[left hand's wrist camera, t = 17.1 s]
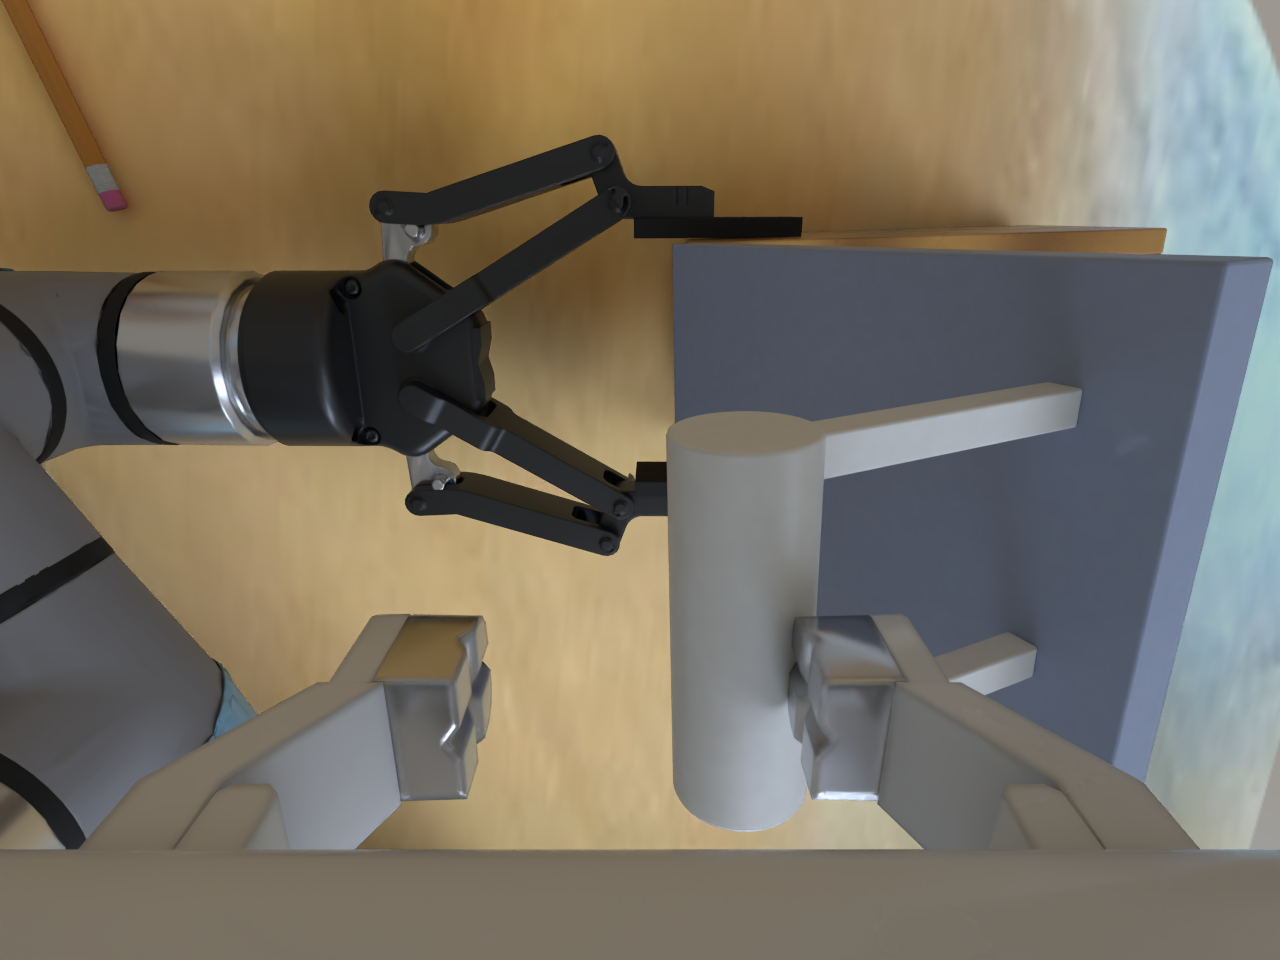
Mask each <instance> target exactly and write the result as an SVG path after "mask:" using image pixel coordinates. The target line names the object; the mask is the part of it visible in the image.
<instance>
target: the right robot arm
mask: <svg viewBox="0 0 1280 960" xmlns="http://www.w3.org/2000/svg"><path fill="white" fill-rule="evenodd" d="M591 177H592V179H593V181H594V184H595V187H596V190H597V193H598V195H597V196H596V197H594V198H593V199H591V200H590V201H588V202H587V203H585V204H584V205H582V206H580V207H579V208H577V209H576V210H574V211H573V212H571V213H570V214H568V215H567V216H565V217H564V218H562V219H560V220H559V221H557V222H556V223H554V224H553V225H551V226H550V227H548V228H547V229H545V230H544V231H542V232H540V233H539V234H537V235H536V236H534V237H533V238H531V239H530V240H528V241H527V242H525V243H523V244H522V245H520V246H519V247H517V248H516V249H514V250H513V251H511V252H510V253H508V254H507V255H505V256H503V257H502V258H500V259H499V260H497V261H496V262H494V263H493V264H491V265H490V266H488V267H487V268H485V269H483V270H482V271H480V272H479V273H477V274H475V275H474V276H472V277H470V278H468V279H467V280H465V281H464V282H462V283H461V284H459V285H457V286H456V287H454V288H453V287H451V286H450V285H448V284H447V283H446V282H444V281H443V280H441V279H440V278H439V277H437V276H436V275H434V274H433V273H431V272H430V271H429V270H427V269H426V268H424V267H423V266H421V265H420V264H419V263H417V262H415V261H414V255H415V252H416V250H417V249H418V248H419V247H420V246H422V245H426V244H430V243H432V242H433V241H434V240H435V239H436V237H437V235H438V224H447V223H455V222H459V221H462V220H466V219H469V218H472V217H475V216H478V215H481V214H484V213H487V212H490V211H493V210H496V209H499V208H502V207H505V206H507V205H510V204H513V203H516V202H519V201H522V200H525V199H528V198H531V197H534V196H537V195H540V194H543V193H546V192H549V191H552V190H555V189H558V188H561V187H564V186H567V185H570V184H573V183H576V182H579V181H582V180H585V179H588V178H591ZM369 207H370V211H371V214H372V215H373V217H374V218H375V219H376V220H378V221H379V222H381V230H382V245H383V260H384V261H382V262H380V263H378V264H377V265H375V266H374V267H372V268H370V269H368V270H359V271H273V272H270V273H268V274H266V275H262V274H260V273H258V272H255V271H158V272H142V273H109V272H64V271H14V270H12V269H7V268H0V849H79V848H80V846H81V845H82V844H83V843H84V842H85V841H86V840H87V838H88V837H89V836H90V835H91V834H92V833H93V831H94V830H95V829H96V828H97V827H98V826H99V825H100V823H101V822H102V821H103V820H104V819H105V818H106V816H107V815H108V814H109V813H110V812H111V811H112V809H113V808H114V807H115V806H116V805H117V804H118V803H119V801H120V800H121V799H122V798H123V797H124V796H125V794H126V793H127V792H128V791H129V790H130V789H131V788H132V786H133V785H134V784H135V783H136V782H137V781H138V780H140V779H141V778H143V777H145V776H147V775H149V774H151V773H152V772H154V771H156V770H158V769H160V768H162V767H163V766H165V765H167V764H169V763H171V762H173V761H174V760H176V759H178V758H180V757H182V756H184V755H185V754H187V753H189V752H191V751H193V750H195V749H196V748H198V747H200V746H202V745H204V744H206V743H207V742H209V741H211V740H213V739H215V738H217V737H218V736H220V735H222V734H224V733H226V732H228V731H229V730H231V729H233V728H235V727H237V726H239V725H240V724H242V723H244V722H246V721H248V720H250V719H251V718H253V717H255V716H257V714H256V712H255V711H254V710H253V708H252V707H251V706H250V704H249V703H248V702H247V700H246V699H245V698H244V696H243V695H242V693H241V692H240V691H239V689H238V688H237V687H236V685H235V684H234V683H233V681H232V679H231V677H230V675H229V673H228V671H227V670H226V669H225V668H224V667H223V666H222V664H221V663H219V662H217V661H216V660H214V659H213V658H211V657H210V656H209V655H208V654H207V653H206V652H205V651H204V650H203V649H202V648H201V647H200V645H199V644H198V643H197V642H196V641H195V640H194V639H193V638H192V637H191V636H190V635H189V633H188V632H187V631H186V630H185V629H184V628H183V627H182V626H181V625H180V624H179V622H178V621H177V620H176V619H175V618H174V617H173V616H172V615H171V614H170V613H169V612H168V610H167V609H166V608H165V607H164V606H163V605H162V604H161V603H160V602H159V601H158V599H157V598H156V597H155V596H154V595H153V594H152V593H151V592H150V591H149V590H148V589H147V587H146V586H145V585H144V584H143V583H142V582H141V581H140V580H139V579H138V578H137V577H136V575H135V574H134V573H133V572H132V571H131V570H130V569H129V568H128V567H127V566H126V564H125V563H124V562H123V561H122V560H121V559H120V558H119V557H118V556H117V555H116V554H115V552H114V550H113V549H112V548H111V546H110V545H109V544H108V543H107V542H106V541H105V540H104V539H103V538H102V536H101V534H100V533H99V532H98V531H97V530H96V529H95V528H94V526H93V525H92V524H91V523H90V522H89V521H88V520H87V518H86V517H85V516H84V515H83V514H82V513H81V512H80V510H79V509H78V508H77V507H76V506H75V505H74V504H73V502H72V501H71V500H70V499H69V498H68V497H67V496H66V494H65V493H64V492H63V491H62V490H61V489H60V488H59V486H58V485H57V484H56V483H55V482H54V481H53V479H52V478H51V477H50V476H49V475H48V474H47V473H46V471H45V470H44V469H43V468H42V467H41V466H40V465H39V464H41V463H43V462H45V461H48V460H50V459H53V458H55V457H57V456H60V455H62V454H65V453H67V452H70V451H72V450H75V449H79V448H83V447H88V446H95V445H161V444H163V445H245V446H269V445H271V444H274V443H276V442H280V443H282V444H284V445H289V446H384V447H388V448H391V449H393V450H395V451H397V452H399V453H401V454H403V455H406V457H407V462H408V468H409V474H410V480H411V485H412V490H411V492H410V493H409V494H408V495H407V497H406V499H405V505H406V507H407V509H408V510H409V511H410V512H411V513H412V514H414V515H419V516H425V515H448V514H458V515H462V516H465V517H469V518H472V519H476V520H479V521H483V522H487V523H490V524H494V525H497V526H501V527H504V528H508V529H511V530H515V531H518V532H522V533H525V534H529V535H533V536H536V537H540V538H543V539H547V540H550V541H554V542H557V543H561V544H564V545H568V546H572V547H575V548H579V549H582V550H586V551H589V552H593V553H596V554H600V555H604V556H609V555H613V554H614V553H616V552H617V551H618V549H619V545H620V541H621V538H622V536H623V533H624V531H625V528H626V526H627V524H628V523H629V521H630V520H632V519H633V518H635V517H638V516H668V498H667V462H637V467H636V479H635V478H634V476H633V475H632V474H630V473H629V476H628V477H626V476H624V475H622V474H621V473H619V472H617V471H615V470H614V469H612V468H610V467H608V466H606V465H605V464H603V463H601V462H599V461H598V460H596V459H594V458H592V457H590V456H589V455H587V454H585V453H583V452H581V451H580V450H578V449H576V448H574V447H573V446H571V445H569V444H567V443H565V442H564V441H562V440H560V439H558V438H556V437H555V436H553V435H551V434H549V433H548V432H546V431H544V430H542V429H540V428H539V427H537V426H535V425H533V424H532V423H530V422H528V421H526V420H524V419H523V418H521V417H519V416H517V415H516V414H515V413H513V411H512V410H511V409H510V408H509V407H508V406H506V405H505V404H503V403H501V402H499V401H497V400H496V399H494V398H492V397H491V396H492V393H493V392H494V391H495V379H494V372H493V369H492V366H491V363H490V360H489V357H488V354H489V349H490V344H491V339H492V337H491V323H490V321H487V320H486V317H485V315H484V313H483V312H482V310H481V309H483V308H484V307H486V306H487V305H489V304H491V303H492V302H494V301H495V300H497V299H498V298H500V297H502V296H503V295H505V294H506V293H508V292H509V291H511V290H512V289H514V288H515V287H517V286H519V285H520V284H522V283H523V282H525V281H526V280H528V279H530V278H531V277H533V276H534V275H536V274H537V273H539V272H541V271H542V270H544V269H545V268H547V267H548V266H550V265H552V264H553V263H555V262H556V261H558V260H559V259H561V258H563V257H564V256H566V255H567V254H569V253H570V252H572V251H573V250H575V249H577V248H578V247H580V246H581V245H583V244H584V243H586V242H588V241H589V240H591V239H592V238H594V237H595V236H597V235H599V234H600V233H602V232H603V231H605V230H606V229H608V228H610V227H611V226H613V225H614V224H616V223H617V222H619V221H621V220H622V219H634V238H775V237H801V232H802V218H803V217H714V191H712V190H710V189H708V188H705V187H703V186H637V185H635V184H632V183H631V182H630V181H629V180H628V179H627V178H626V176H625V174H624V171H623V168H622V165H621V162H620V159H619V156H618V154H617V150H616V148H615V146H614V145H613V143H612V142H611V141H610V140H609V139H608V138H607V137H605V136H602V135H594V136H591V137H588V138H585V139H582V140H579V141H577V142H574V143H571V144H568V145H565V146H562V147H559V148H556V149H553V150H550V151H547V152H544V153H542V154H539V155H536V156H533V157H530V158H527V159H524V160H521V161H518V162H515V163H512V164H510V165H507V166H504V167H501V168H498V169H495V170H492V171H489V172H486V173H483V174H480V175H477V176H475V177H472V178H469V179H466V180H463V181H460V182H457V183H454V184H451V185H448V186H445V187H443V188H440V189H437V190H434V191H431V192H428V193H416V192H398V191H379V192H376V193H375V194H374V195H373V196H372V198H371V199H370V204H369ZM452 435H454V436H456V437H458V438H460V439H462V440H463V441H465V442H467V443H469V444H471V445H473V446H474V447H476V448H478V449H480V450H484V451H492V452H494V453H496V454H498V455H500V456H502V457H503V458H505V459H507V460H509V461H511V462H513V463H514V464H516V465H518V466H520V467H522V468H524V469H525V470H527V471H529V472H531V473H533V474H534V475H536V476H538V477H540V478H542V479H544V480H545V481H547V482H549V483H551V484H553V485H555V486H556V487H558V488H560V489H562V490H564V491H565V492H567V493H569V494H571V495H573V496H575V497H576V498H578V499H580V500H582V501H584V502H585V503H587V504H589V505H587V504H583V503H580V502H576V501H573V500H569V499H566V498H562V497H559V496H555V495H552V494H549V493H545V492H542V491H538V490H535V489H531V488H528V487H524V486H521V485H517V484H514V483H510V482H507V481H503V480H500V479H496V478H493V477H489V476H486V475H482V474H477V473H471V472H460V470H459V468H458V467H457V465H456V464H455V463H452V462H449V461H445V460H442V459H440V458H439V457H438V456H437V455H436V454H435V452H434V448H436V447H437V446H438V445H440V444H441V443H442V442H444V441H445V440H446V439H448V438H449V437H450V436H452ZM590 505H591V506H590Z"/></svg>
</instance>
